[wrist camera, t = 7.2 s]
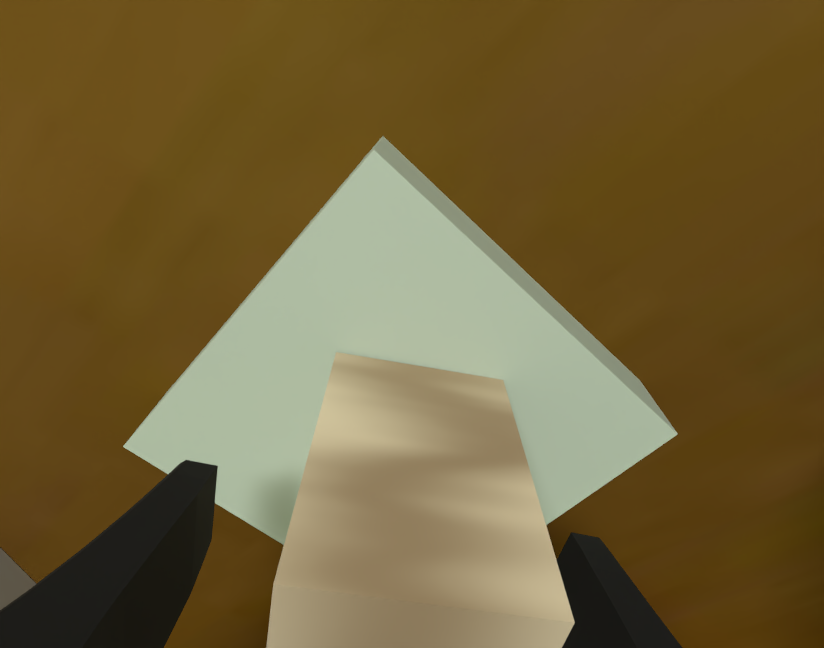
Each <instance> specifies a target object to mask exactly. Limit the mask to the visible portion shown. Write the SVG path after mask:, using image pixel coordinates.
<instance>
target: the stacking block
mask: <svg viewBox="0 0 824 648" xmlns="http://www.w3.org/2000/svg"><path fill="white" fill-rule="evenodd" d="M336 352H339V353H345V354H351V355H357V356H363V357H369V358H375V359H381V360H387V361H393V362H399V363H405V364H411V365H417V366H423V367H429V368H435V369H441V370H447V371H453V372H459V373H465V374H471V375H477V376H483V377H489V378H495V379H501V380H503V381H504V384H505V387H506V391H507V394H508V398H509V401H510V404H511V408H512V411H513V415H514V418H515V421H516V425H517V428H518V432H519V435H520V438H521V442H522V445H523V449H524V452H525V455H526V459H527V462H528V465H529V469H530V472H531V476H532V479H533V482H534V486H535V489H536V493H537V496H538V499H539V503H540V506H541V510H542V513H543V516H544V520H545V523H546V525H547V524H549V523H550V522H551V521H553V520H554V519H556V518H557V517H559V516H560V515H562V514H563V513H564V512H566V511H567V510H569V509H570V508H572V507H573V506H575V505H576V504H577V503H579V502H580V501H582V500H583V499H585V498H586V497H588V496H589V495H590V494H592V493H593V492H595V491H596V490H598V489H599V488H601V487H602V486H603V485H605V484H606V483H608V482H609V481H611V480H612V479H614V478H615V477H616V476H618V475H619V474H621V473H622V472H624V471H625V470H627V469H628V468H629V467H631V466H632V465H634V464H635V463H637V462H638V461H640V460H641V459H643V458H644V457H645V456H647V455H648V454H650V453H651V452H653V451H654V450H656V449H657V448H658V447H660V446H661V445H663V444H664V443H666V442H667V441H669V440H670V439H671V438H673V437H674V436H676V435H677V432H676V431H675V429H674V428H673V427H672V425H671V424H670V422H669V421H668V420H667V418H666V417H665V415H664V414H663V412H662V411H661V410H660V408H659V407H658V405H657V404H656V403H655V401H654V400H653V398H652V397H651V396H650V394H649V393H648V391H647V390H646V388H645V387H644V386H643V384H642V383H641V381H640V380H639V379H638V378H637V377H636V376H635V375H634V374H633V373H631V372H630V371H629V370H628V369H627V368H626V367H625V366H624V365H623V364H622V363H621V362H620V361H619V360H618V359H617V358H616V357H615V356H614V355H613V354H612V353H610V352H609V351H608V350H607V349H606V348H605V347H604V346H603V345H602V344H601V343H600V342H599V341H598V340H597V339H596V338H595V337H594V336H593V335H592V334H591V333H589V332H588V331H587V330H586V329H585V328H584V327H583V326H582V325H581V324H580V323H579V322H578V321H577V320H576V319H575V318H574V317H573V316H572V315H571V314H569V313H568V312H567V311H566V310H565V309H564V308H563V307H562V306H561V305H560V304H559V303H558V302H557V301H556V300H555V299H554V298H553V297H552V296H551V295H550V294H548V293H547V292H546V291H545V290H544V289H543V288H542V287H541V286H540V285H539V284H538V283H537V282H536V281H535V280H534V279H533V278H532V277H531V276H530V275H528V274H527V273H526V272H525V271H524V270H523V269H522V268H521V267H520V266H519V265H518V264H517V263H516V262H515V261H514V260H513V259H512V258H511V257H510V256H509V255H507V254H506V253H505V252H504V251H503V250H502V249H501V248H500V247H499V246H498V245H497V244H496V243H495V242H494V241H493V240H492V239H491V238H490V237H489V236H487V235H486V234H485V233H484V232H483V231H482V230H481V229H480V228H479V227H478V226H477V225H476V224H475V223H474V222H473V221H472V220H471V219H470V218H469V217H468V216H466V215H465V214H464V213H463V212H462V211H461V210H460V209H459V208H458V207H457V206H456V205H455V204H454V203H453V202H452V201H451V200H450V199H449V198H448V197H446V196H445V195H444V194H443V193H442V192H441V191H440V190H439V189H438V188H437V187H436V186H435V185H434V184H433V183H432V182H431V181H430V180H429V179H428V178H427V177H425V176H424V175H423V174H422V173H421V172H420V171H419V170H418V169H417V168H416V167H415V166H414V165H413V164H412V163H411V162H410V161H409V160H408V159H407V158H405V157H404V156H403V155H402V154H401V153H400V152H399V151H398V150H397V149H396V148H395V147H394V146H393V145H392V144H391V143H390V142H389V141H388V140H387V139H386V138H384V137H383V136H382V137H381V139H380V140H379V141H378V142H377V143H376V145H375V146H374V147H373V148H372V149H371V150H370V152H369V153H368V154H367V155H366V156H365V158H364V159H363V160H362V161H361V162H360V164H359V165H358V166H357V167H356V168H355V169H354V171H353V172H352V173H351V174H350V175H349V177H348V178H347V179H346V180H345V181H344V183H343V184H342V185H341V186H340V187H339V188H338V190H337V191H336V192H335V193H334V194H333V196H332V197H331V198H330V199H329V200H328V202H327V203H326V204H325V205H324V206H323V207H322V209H321V210H320V211H319V212H318V213H317V215H316V216H315V217H314V218H313V219H312V221H311V222H310V223H309V224H308V225H307V226H306V228H305V229H304V230H303V231H302V232H301V234H300V235H299V236H298V237H297V238H296V240H295V241H294V242H293V243H292V244H291V245H290V247H289V248H288V249H287V250H286V251H285V253H284V254H283V255H282V256H281V257H280V259H279V260H278V261H277V262H276V263H275V264H274V266H273V267H272V268H271V269H270V270H269V272H268V273H267V274H266V275H265V276H264V278H263V279H262V280H261V281H260V282H259V283H258V285H257V286H256V287H255V288H254V289H253V291H252V292H251V293H250V294H249V295H248V297H247V298H246V299H245V300H244V301H243V302H242V304H241V305H240V306H239V307H238V308H237V310H236V311H235V312H234V313H233V314H232V316H231V317H230V318H229V319H228V320H227V321H226V323H225V324H224V325H223V326H222V327H221V329H220V330H219V331H218V332H217V333H216V335H215V336H214V337H213V338H212V339H211V340H210V342H209V343H208V344H207V345H206V346H205V348H204V349H203V350H202V351H201V352H200V354H199V355H198V356H197V357H196V358H195V359H194V361H193V362H192V363H191V364H190V365H189V367H188V368H187V369H186V370H185V371H184V373H183V374H182V375H181V376H180V377H179V378H178V380H177V381H176V382H175V383H174V384H173V386H172V387H171V388H170V389H169V390H168V392H167V393H166V394H165V395H164V396H163V398H162V399H161V400H160V401H159V403H158V404H157V405H156V406H155V408H154V409H153V410H152V411H151V413H150V414H149V415H148V416H147V417H146V419H145V420H144V421H143V422H142V424H141V425H140V426H139V427H138V429H137V430H136V431H135V432H134V434H133V435H132V436H131V437H130V439H129V440H128V441H127V442H126V444H125V445H124V446H123V447H124V448H126V449H128V450H129V451H131V452H133V453H134V454H136V455H138V456H139V457H141V458H142V459H144V460H146V461H147V462H149V463H151V464H152V465H154V466H156V467H157V468H159V469H160V470H162V471H164V472H165V473H167V474H169V473H170V472H171V471H172V470H173V469H174V468H175V467H176V466H178V465H179V464H180V463H181V462H183V461H185V460H190V461H195V462H201V463H206V464H211V465H216V466H218V470H217V481H216V493H215V503H216V504H218V505H219V506H221V507H223V508H224V509H226V510H228V511H229V512H231V513H232V514H234V515H236V516H237V517H239V518H241V519H242V520H244V521H246V522H247V523H249V524H250V525H252V526H254V527H255V528H257V529H259V530H260V531H262V532H264V533H265V534H267V535H268V536H270V537H272V538H273V539H275V540H277V541H278V542H280V543H282V544H283V545H284V543H285V539H286V536H287V532H288V528H289V525H290V521H291V517H292V513H293V510H294V506H295V502H296V499H297V495H298V491H299V488H300V484H301V480H302V476H303V473H304V469H305V465H306V462H307V458H308V454H309V450H310V447H311V443H312V439H313V436H314V432H315V428H316V425H317V421H318V417H319V413H320V410H321V406H322V402H323V399H324V395H325V391H326V387H327V384H328V380H329V376H330V373H331V369H332V365H333V362H334V358H335V354H336Z"/></svg>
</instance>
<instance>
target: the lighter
mask: <svg viewBox="0 0 824 648" xmlns="http://www.w3.org/2000/svg"><path fill="white" fill-rule="evenodd" d="M35 585H36V583H35V582H34V581H33V580H32V579H31V578H30V577H29V576H28V575H27V574H26V573H25V572H24V571H23V570H22V569H21V568H20V567H19V566H18V565H17V564H16V563H15V562H14V561H13V560H12V559H11V558H10V557H9V556H8V555H7V554H6V553H5V552H4V551H3V550H2V549H1V548H0V610H1V609H3V608H4V607H6V606H7V605H8V604H10V603H11V602H13V601H14V600H15V599H17V598H18V597H20V596H21V595H22V594H24V593H25V592H26V591H28V590H29V589H31V588H32V587H33V586H35Z"/></svg>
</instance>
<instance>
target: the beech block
mask: <svg viewBox="0 0 824 648" xmlns="http://www.w3.org/2000/svg"><path fill="white" fill-rule="evenodd" d="M574 623H575V622H574V618H573V615H572V611H571V608H570V605H569V601H568V598H567V594H566V591H565V588H564V584H563V581H562V577H561V574H560V571H559V567H558V564H557V560H556V557H555V554H554V550H553V547H552V543H551V540H550V537H549V533H548V530H547V527H546V523H545V520H544V516H543V513H542V510H541V506H540V503H539V499H538V496H537V493H536V489H535V486H534V482H533V479H532V476H531V472H530V469H529V465H528V462H527V459H526V455H525V452H524V449H523V445H522V442H521V438H520V435H519V432H518V428H517V425H516V421H515V418H514V415H513V411H512V408H511V404H510V401H509V398H508V394H507V391H506V387H505V384H504V381H503V380H501V379H495V378H489V377H483V376H477V375H471V374H465V373H459V372H453V371H447V370H441V369H435V368H429V367H423V366H417V365H411V364H405V363H399V362H393V361H387V360H381V359H375V358H369V357H363V356H357V355H351V354H345V353H339V352H336V354H335V358H334V362H333V365H332V369H331V373H330V376H329V380H328V384H327V387H326V391H325V395H324V399H323V402H322V406H321V410H320V413H319V417H318V421H317V425H316V428H315V432H314V436H313V439H312V443H311V447H310V450H309V454H308V458H307V462H306V465H305V469H304V473H303V476H302V480H301V484H300V488H299V491H298V495H297V499H296V502H295V506H294V510H293V513H292V517H291V521H290V525H289V528H288V532H287V536H286V539H285V543H284V547H283V551H282V554H281V558H280V562H279V565H278V569H277V573H276V576H275V580H274V584H273V592H272V601H271V610H270V619H269V628H268V638H267V647H266V648H562V646H563V645H564V643H565V641H566V639H567V637H568V635H569V633H570V631H571V629H572V627H573V625H574Z"/></svg>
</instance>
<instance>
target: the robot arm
mask: <svg viewBox="0 0 824 648" xmlns="http://www.w3.org/2000/svg"><path fill="white" fill-rule="evenodd" d="M217 470H218V466H216V465H211V464H206V463H201V462H195V461H190V460H185V461H183V462H181V463H180V464H179V465H178V466H176V467H175V468H174V469H173V470H172V471H171V472H170V473H169V474H168V475H167V476H166V477H165V478H164V479H163V480H162V481H161V482H159V483H158V484H157V485H156V486H155V487H154V488H153V489H152V490H151V491H150V492H149V493H147V494H146V495H145V496H144V497H143V498H142V499H141V500H140V501H138V502H137V503H136V504H135V505H134V506H133V507H132V508H130V509H129V510H128V511H127V512H126V513H125V514H124V515H122V516H121V517H120V518H119V519H118V520H116V521H115V522H114V523H113V524H112V525H110V526H109V527H108V528H107V529H106V530H104V531H103V532H102V533H101V534H100V535H98V536H97V537H96V538H95V539H94V540H92V541H91V542H90V543H89V544H88V545H86V546H85V547H84V548H83V549H81V550H80V551H79V552H78V553H76V554H75V555H74V556H72V557H71V558H70V559H68V560H67V561H66V562H65V563H63V564H62V565H61V566H59V567H58V568H57V569H55V570H54V571H53V572H52V573H50V574H49V575H48V576H46V577H45V578H44V579H42V580H41V581H40V582H38V583H37V584H36V585H35V586H33V587H32V588H31V589H29V590H28V591H26V592H25V593H24V594H22V595H21V596H20V597H18V598H17V599H15V600H14V601H13V602H11V603H10V604H8V605H7V606H6V607H4V608H3V609H1V610H0V648H164V646H165V644H166V642H167V640H168V638H169V636H170V634H171V632H172V630H173V628H174V626H175V624H176V622H177V620H178V618H179V616H180V614H181V612H182V610H183V608H184V606H185V604H186V602H187V600H188V598H189V596H190V594H191V591H192V589H193V586H194V584H195V581H196V579H197V576H198V574H199V571H200V569H201V566H202V563H203V561H204V558H205V555H206V553H207V550H208V547H209V545H210V542H211V539H212V527H213V516H214V504H215V493H216V481H217ZM557 564H558V567H559V571H560V574H561V577H562V581H563V584H564V588H565V591H566V594H567V598H568V601H569V605H570V608H571V611H572V615H573V618H574V622H575V623H574V625H573V627H572V629H571V631H570V633H569V635H568V637H567V639H566V641H565V643H564V645H563V646H562V648H682V647H681V645H680V644H679V643H678V642H677V640H676V639H675V638H674V636H673V635H672V634H671V632H670V631H669V630H668V629H667V627H666V626H665V625H664V623H663V622H662V621H661V619H660V618H659V617H658V615H657V614H656V613H655V611H654V610H653V609H652V607H651V606H650V605H649V603H648V602H647V601H646V599H645V598H644V597H643V595H642V594H641V593H640V591H639V590H638V589H637V587H636V586H635V585H634V583H633V582H632V580H631V579H630V578H629V576H628V575H627V574H626V572H625V571H624V570H623V568H622V567H621V566H620V564H619V563H618V562H617V560H616V559H615V558H614V556H613V555H612V554H611V552H610V551H609V550H608V548H607V547H606V546H605V544H604V543H603V542H602V541H601V539H600V538H597V537H592V536H587V535H581V534H576V533H571V534H570V536H569V538H568V540H567V542H566V543H565V545H564V547H563V549H562V551H561V553H560V555H559V557H558V559H557Z"/></svg>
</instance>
